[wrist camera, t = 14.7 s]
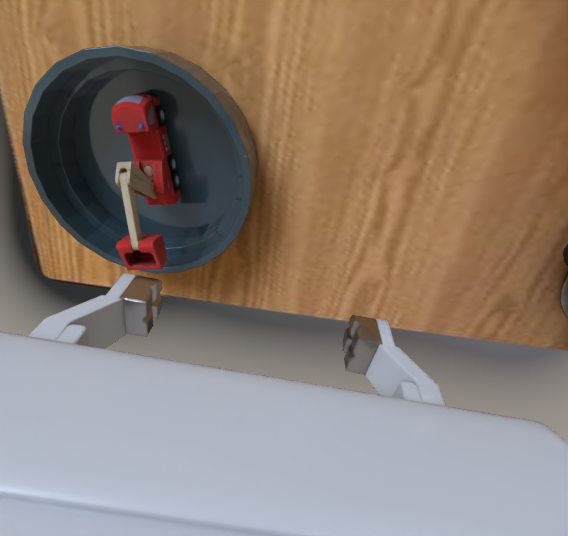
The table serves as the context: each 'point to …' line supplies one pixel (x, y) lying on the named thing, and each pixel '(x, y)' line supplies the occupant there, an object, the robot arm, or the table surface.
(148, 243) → the toy fire truck
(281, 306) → the table surface
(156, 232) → the bowl
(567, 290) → the toy character
